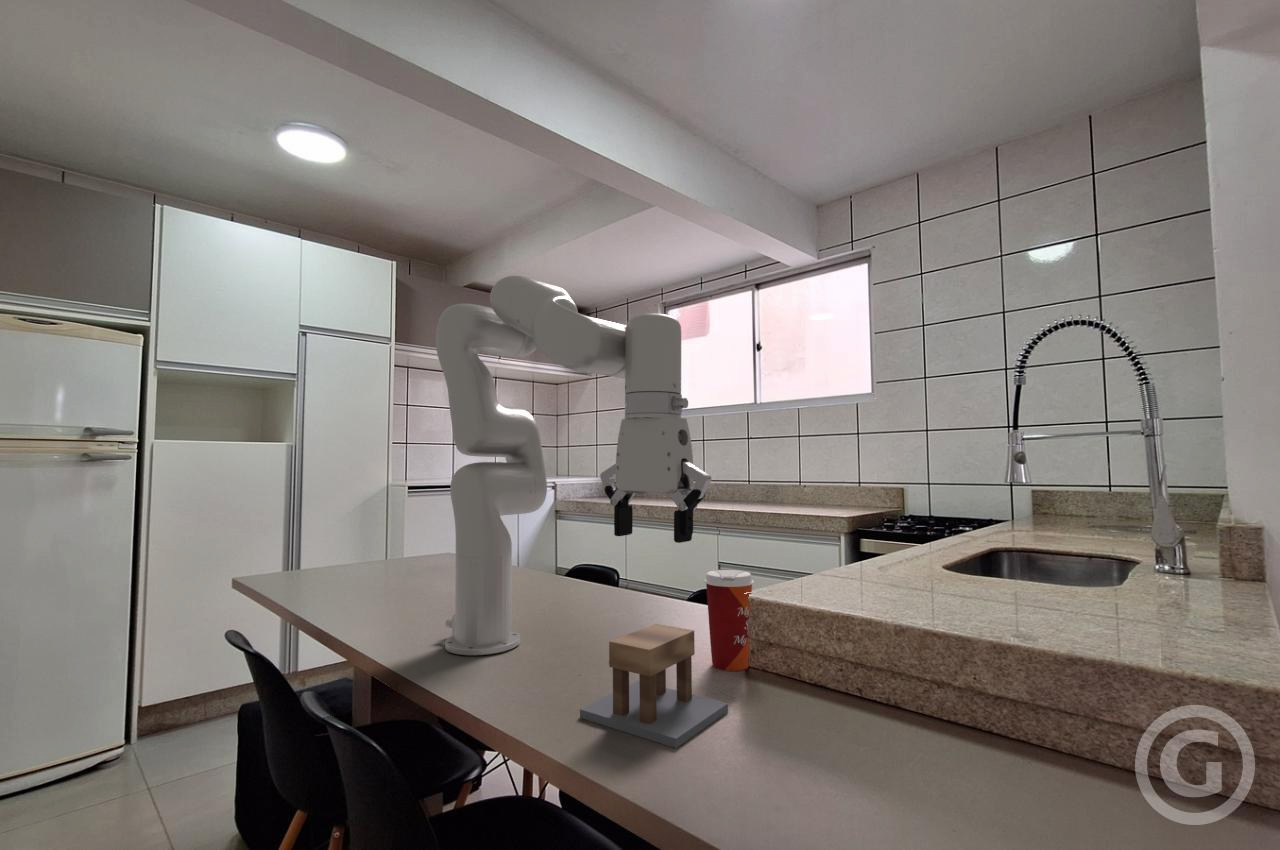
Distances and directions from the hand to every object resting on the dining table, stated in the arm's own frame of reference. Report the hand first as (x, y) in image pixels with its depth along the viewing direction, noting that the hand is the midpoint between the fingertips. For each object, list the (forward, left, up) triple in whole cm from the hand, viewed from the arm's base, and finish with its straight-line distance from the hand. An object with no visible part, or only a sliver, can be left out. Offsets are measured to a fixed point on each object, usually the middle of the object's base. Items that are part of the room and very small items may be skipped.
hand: (652, 538), depth 79 cm
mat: (+2, -3, -21) cm, 21 cm away
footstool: (+2, -3, -20) cm, 20 cm away
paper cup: (+1, +19, -21) cm, 29 cm away
